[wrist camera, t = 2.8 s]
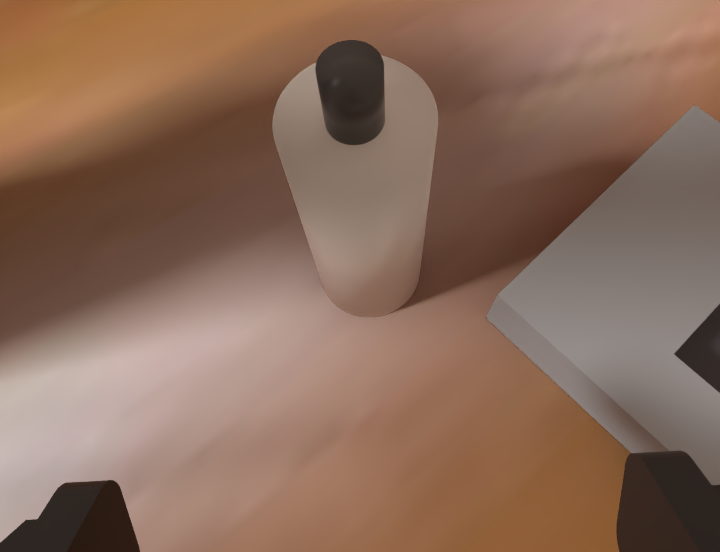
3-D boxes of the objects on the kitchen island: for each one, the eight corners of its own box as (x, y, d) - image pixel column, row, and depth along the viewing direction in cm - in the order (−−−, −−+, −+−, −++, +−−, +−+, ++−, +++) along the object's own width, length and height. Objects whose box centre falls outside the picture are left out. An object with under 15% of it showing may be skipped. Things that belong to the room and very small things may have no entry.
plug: (321, 320, 25) (254, 155, 13) (318, 227, 27) (256, 2, 14) (424, 313, 25) (454, 141, 13) (415, 220, 26) (435, -13, 14)
